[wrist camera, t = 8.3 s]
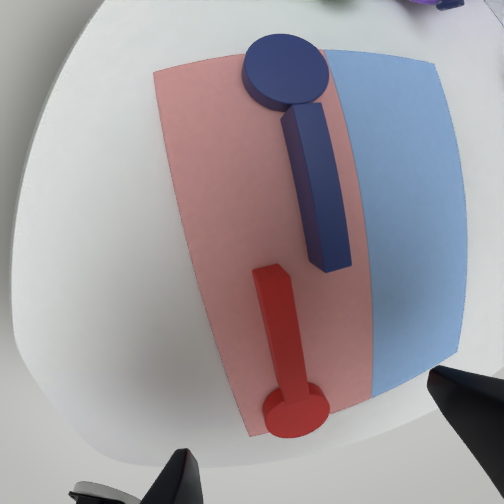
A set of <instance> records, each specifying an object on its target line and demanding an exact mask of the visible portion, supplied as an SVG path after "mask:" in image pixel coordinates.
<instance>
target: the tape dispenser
mask: <svg viewBox="0 0 504 504" xmlns="http://www.w3.org/2000/svg"><path fill="white" fill-rule="evenodd" d="M484 1H485V2H486V3H487V5H488V6H489V7H490V8H491V10H492V11H493V12H494V14H495V15H496V16H497V18H498V19H499V20H500V22H501V23H502V25H503V26H504V0H484Z"/></svg>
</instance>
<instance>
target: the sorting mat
mask: <svg viewBox="0 0 504 504" xmlns="http://www.w3.org/2000/svg"><path fill="white" fill-rule="evenodd" d="M319 51H320V52H321V54H322V55H323V56H324V58H325V60H326V62H327V65H328V68H329V83H328V86H327V88H326V90H325V91H324V93H323V94H322V95H321V96H320V97H319V98H317V99H316V100H315V101H314V102H313V103H316V102H321V103H322V106H323V110H324V114H325V118H326V122H327V126H328V130H329V134H330V138H331V143H332V147H333V151H334V156H335V161H336V165H337V170H338V175H339V181H340V186H341V191H342V197H343V203H344V209H345V215H346V222H347V228H348V236H349V243H350V251H351V259H352V266H350V267H347V268H343V269H340V270H336V271H333V272H329V273H324V272H323V271H322V270H320V269H319V268H317V267H316V266H315V265H313V264H312V263H310V262H309V259H308V253H307V247H306V241H305V235H304V230H303V224H302V219H301V213H300V208H299V203H298V198H297V193H296V188H295V183H294V178H293V174H292V169H291V164H290V160H289V155H288V151H287V146H286V142H285V138H284V133H283V129H282V125H281V121H280V118H281V117H282V116H283V115H284V113H285V112H280V111H275V110H271V109H269V108H266V107H264V106H262V105H261V104H259V103H258V102H256V101H255V100H254V99H253V98H252V97H251V96H250V95H249V93H248V92H247V91H246V89H245V87H244V85H243V82H242V74H241V72H242V66H243V62H244V58H245V55H246V54H239V55H231V56H225V57H219V58H213V59H207V60H202V61H197V62H192V63H188V64H183V65H179V66H175V67H171V68H167V69H164V70H160V71H156V72H154V73H153V75H154V82H155V89H156V95H157V101H158V107H159V113H160V119H161V125H162V130H163V136H164V141H165V146H166V152H167V157H168V162H169V166H170V171H171V176H172V181H173V185H174V190H175V194H176V199H177V203H178V207H179V212H180V216H181V220H182V224H183V228H184V232H185V236H186V240H187V244H188V248H189V252H190V255H191V259H192V263H193V267H194V270H195V274H196V278H197V281H198V285H199V288H200V292H201V295H202V299H203V302H204V305H205V309H206V312H207V315H208V319H209V322H210V325H211V328H212V332H213V335H214V338H215V341H216V344H217V347H218V350H219V353H220V356H221V359H222V362H223V365H224V368H225V371H226V374H227V377H228V380H229V383H230V385H231V388H232V391H233V394H234V397H235V399H236V402H237V405H238V408H239V410H240V413H241V416H242V418H243V421H244V423H245V426H246V429H247V431H248V434H249V436H250V437H251V436H256V435H260V434H265V433H269V431H268V430H267V428H266V425H265V421H264V417H263V413H262V407H263V403H264V401H265V399H266V398H267V397H268V396H269V395H270V393H272V392H273V391H274V390H276V389H277V388H279V386H278V383H277V379H276V374H275V370H274V366H273V361H272V357H271V353H270V348H269V344H268V339H267V335H266V331H265V326H264V322H263V318H262V313H261V309H260V304H259V300H258V296H257V291H256V287H255V282H254V278H253V274H252V270H253V269H257V268H261V267H265V266H269V265H273V264H277V263H278V264H279V265H280V266H281V267H282V268H283V269H284V270H285V271H286V272H287V273H288V274H289V276H290V278H291V283H292V289H293V294H294V300H295V306H296V311H297V317H298V323H299V329H300V335H301V342H302V348H303V354H304V361H305V367H306V374H307V381H308V382H310V383H313V384H315V385H317V386H319V387H320V388H321V390H322V391H323V393H324V395H325V397H326V399H327V400H328V402H329V405H330V412H329V415H330V414H332V413H335V412H338V411H341V410H343V409H346V408H348V407H351V406H354V405H356V404H358V403H361V402H363V401H366V400H368V399H370V398H373V397H375V396H377V395H379V394H381V393H384V392H386V391H388V390H390V389H392V388H394V387H396V386H398V385H400V384H402V383H404V382H406V381H408V380H410V379H412V378H414V377H416V376H417V375H419V374H421V373H423V372H425V371H426V370H428V369H430V368H432V367H433V366H435V365H437V364H438V363H440V362H442V361H443V360H445V359H447V358H448V357H450V356H451V355H453V354H454V353H456V352H457V349H458V344H459V338H460V333H461V326H462V319H463V311H464V302H465V292H466V277H467V218H466V203H465V193H464V184H463V176H462V169H461V162H460V157H459V151H458V146H457V141H456V136H455V132H454V127H453V123H452V119H451V115H450V111H449V108H448V104H447V101H446V97H445V94H444V91H443V88H442V85H441V82H440V79H439V76H438V73H437V71H436V68H435V65H434V64H432V63H428V62H424V61H419V60H414V59H409V58H403V57H397V56H391V55H384V54H376V53H367V52H356V51H342V50H319Z"/></svg>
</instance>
